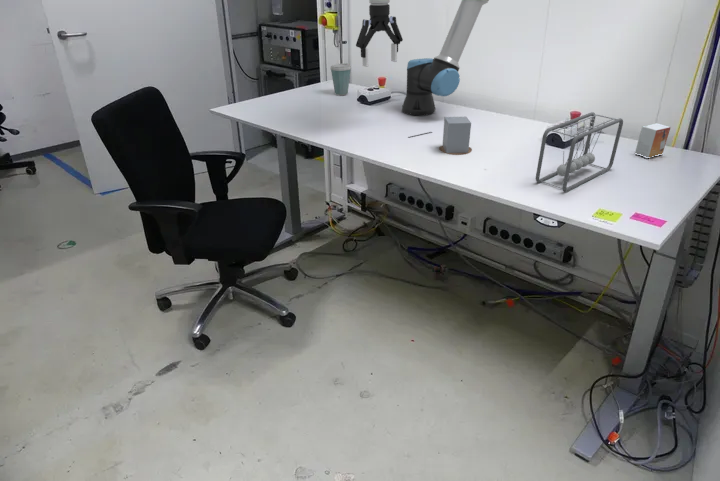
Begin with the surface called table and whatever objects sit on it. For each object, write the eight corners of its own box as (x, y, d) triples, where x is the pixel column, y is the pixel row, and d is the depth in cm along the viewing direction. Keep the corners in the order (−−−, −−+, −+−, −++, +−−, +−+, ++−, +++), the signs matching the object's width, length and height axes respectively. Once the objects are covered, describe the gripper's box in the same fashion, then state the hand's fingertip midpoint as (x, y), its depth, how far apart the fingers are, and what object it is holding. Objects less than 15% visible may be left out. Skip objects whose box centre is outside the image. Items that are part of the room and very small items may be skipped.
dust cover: (442, 145, 191) (444, 116, 186) (463, 145, 191) (466, 116, 186) (446, 153, 184) (448, 123, 179) (468, 152, 184) (471, 122, 179)
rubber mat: (431, 132, 207) (431, 131, 206) (450, 140, 198) (450, 139, 198) (407, 138, 201) (407, 137, 201) (426, 146, 192) (426, 145, 192)
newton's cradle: (563, 194, 154) (575, 137, 145) (533, 183, 161) (543, 129, 152) (612, 169, 171) (625, 117, 162) (583, 160, 178) (594, 110, 169)
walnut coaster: (456, 143, 195) (456, 141, 195) (478, 152, 186) (478, 150, 186) (432, 149, 190) (432, 147, 189) (453, 158, 181) (453, 157, 181)
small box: (647, 159, 178) (656, 130, 173) (633, 154, 182) (641, 126, 177) (662, 155, 181) (671, 126, 176) (648, 150, 186) (656, 122, 180)
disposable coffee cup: (329, 96, 259) (327, 65, 252) (333, 91, 268) (332, 61, 261) (349, 97, 258) (348, 66, 250) (353, 91, 267) (352, 62, 259)
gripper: (400, 0, 195) (399, 58, 206) (345, 6, 184) (347, 66, 194) (412, 1, 190) (411, 60, 200) (356, 7, 178) (358, 69, 189)
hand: (379, 63), depth 197 cm, fingers open, 13 cm apart
